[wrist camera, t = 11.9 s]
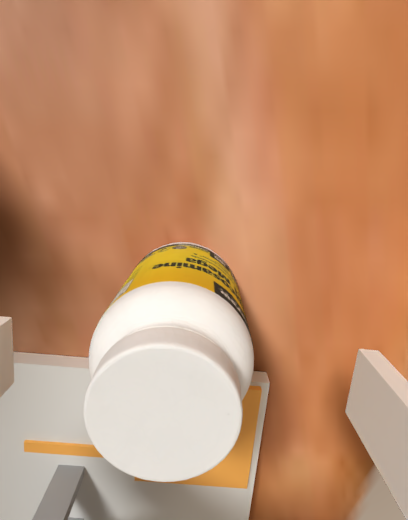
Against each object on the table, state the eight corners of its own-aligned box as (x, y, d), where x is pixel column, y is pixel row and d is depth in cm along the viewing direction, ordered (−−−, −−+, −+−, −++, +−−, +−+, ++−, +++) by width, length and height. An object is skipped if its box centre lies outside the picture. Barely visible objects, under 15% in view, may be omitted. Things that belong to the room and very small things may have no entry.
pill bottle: (257, 273, 21) (313, 385, 10) (202, 357, 22) (203, 534, 12) (161, 218, 20) (116, 279, 9) (111, 309, 22) (21, 452, 11)
